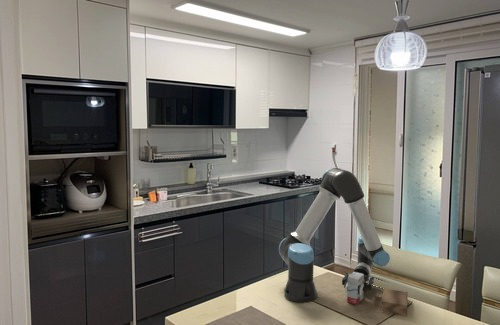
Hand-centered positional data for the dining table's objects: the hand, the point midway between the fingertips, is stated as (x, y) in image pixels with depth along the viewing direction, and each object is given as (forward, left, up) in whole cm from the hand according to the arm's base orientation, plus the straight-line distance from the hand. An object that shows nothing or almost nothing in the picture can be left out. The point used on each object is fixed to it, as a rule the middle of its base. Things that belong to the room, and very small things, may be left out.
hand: (353, 290), depth 170 cm
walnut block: (+17, +6, -7) cm, 19 cm away
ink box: (0, +5, -7) cm, 8 cm away
